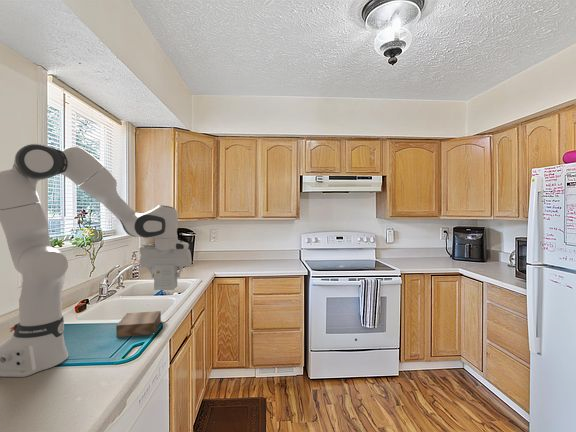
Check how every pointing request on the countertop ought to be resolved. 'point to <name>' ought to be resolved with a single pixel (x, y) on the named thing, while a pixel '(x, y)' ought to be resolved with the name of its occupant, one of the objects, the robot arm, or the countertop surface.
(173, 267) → the small box
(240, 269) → the countertop surface
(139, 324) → the walnut block
